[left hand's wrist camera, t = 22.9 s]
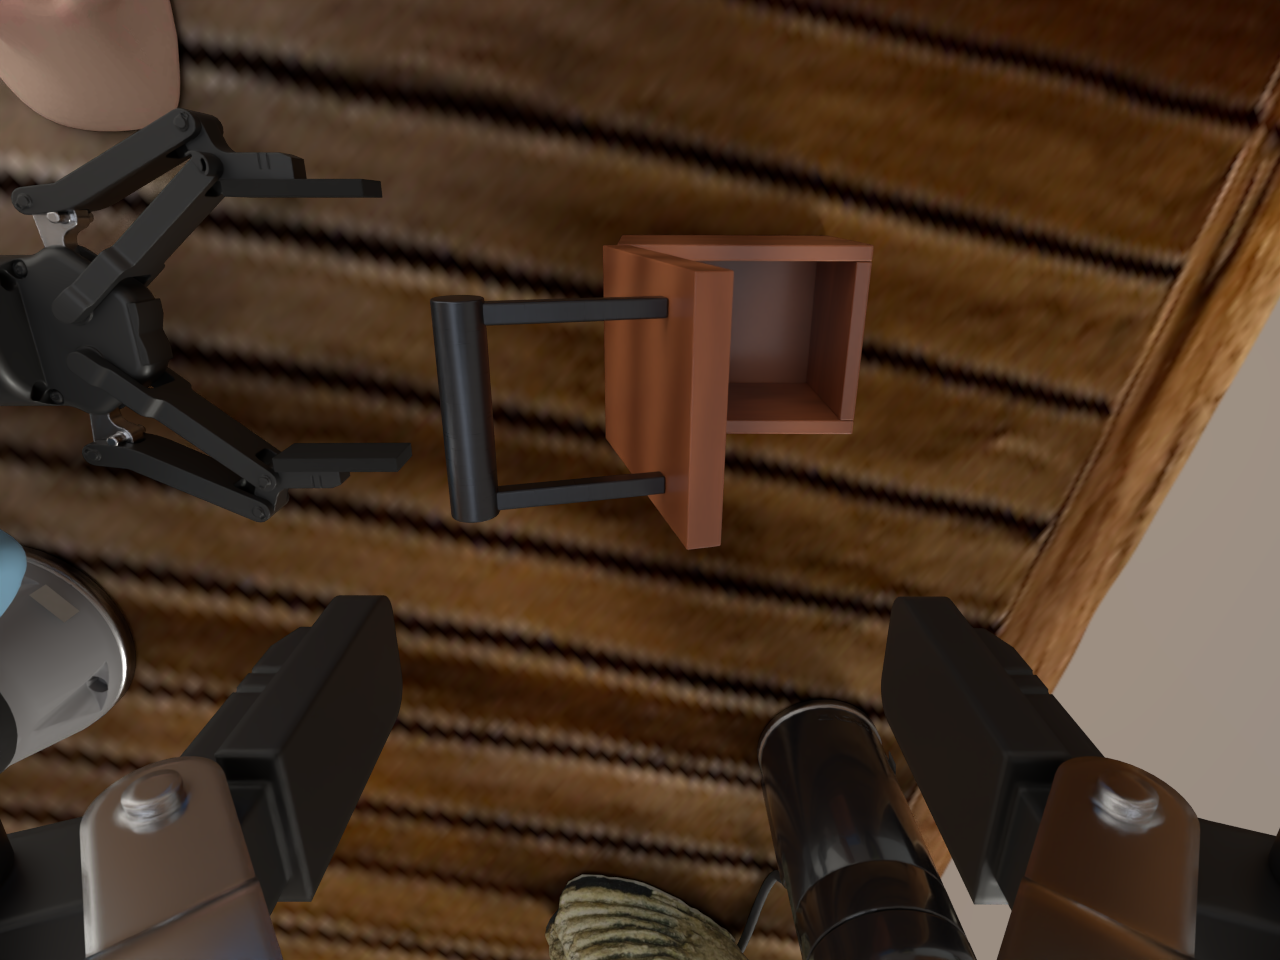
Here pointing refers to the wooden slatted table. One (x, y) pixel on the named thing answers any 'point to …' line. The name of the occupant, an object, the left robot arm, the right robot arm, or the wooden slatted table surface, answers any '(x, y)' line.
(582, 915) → the fossil
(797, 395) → the chest
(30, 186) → the right robot arm
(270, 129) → the wooden slatted table surface
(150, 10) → the anatomical model
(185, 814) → the left robot arm
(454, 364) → the lid
